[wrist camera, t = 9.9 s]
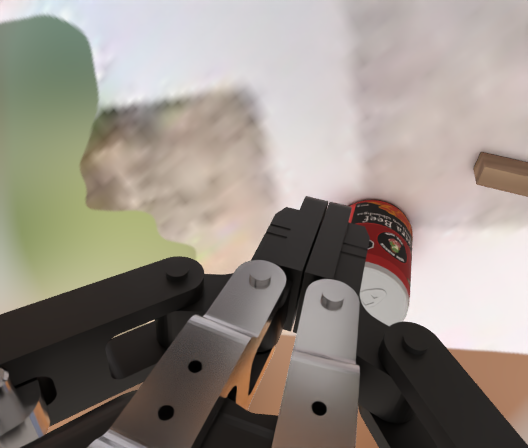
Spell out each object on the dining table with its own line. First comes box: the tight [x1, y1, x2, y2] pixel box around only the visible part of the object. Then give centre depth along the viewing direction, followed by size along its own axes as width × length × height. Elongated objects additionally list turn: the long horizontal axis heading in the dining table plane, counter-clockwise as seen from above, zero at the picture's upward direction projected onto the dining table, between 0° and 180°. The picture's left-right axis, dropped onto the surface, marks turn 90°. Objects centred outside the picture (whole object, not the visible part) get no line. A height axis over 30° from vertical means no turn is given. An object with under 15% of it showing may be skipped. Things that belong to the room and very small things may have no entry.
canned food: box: [349, 200, 413, 326], centre depth 39 cm, size 8×8×11 cm
